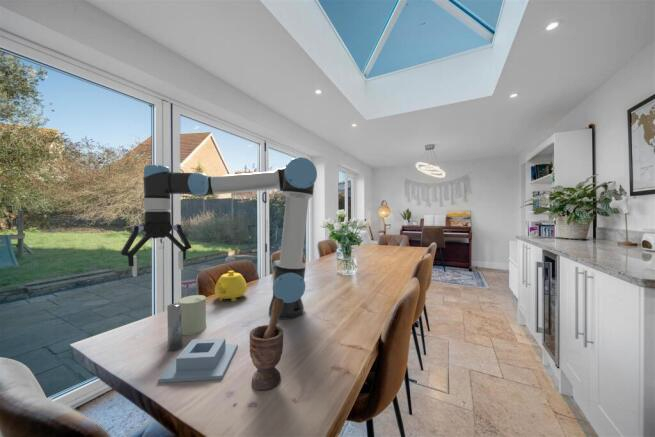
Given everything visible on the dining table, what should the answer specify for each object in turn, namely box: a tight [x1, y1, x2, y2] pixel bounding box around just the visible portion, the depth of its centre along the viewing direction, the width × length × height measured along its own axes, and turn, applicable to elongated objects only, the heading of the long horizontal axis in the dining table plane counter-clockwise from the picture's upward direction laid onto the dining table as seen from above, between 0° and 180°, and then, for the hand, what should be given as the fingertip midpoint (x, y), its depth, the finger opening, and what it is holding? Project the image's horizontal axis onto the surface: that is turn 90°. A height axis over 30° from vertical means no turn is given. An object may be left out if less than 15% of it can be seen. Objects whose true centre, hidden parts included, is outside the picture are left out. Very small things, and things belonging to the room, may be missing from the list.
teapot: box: [214, 270, 248, 302], centre depth 127 cm, size 20×16×14 cm
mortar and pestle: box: [249, 298, 284, 391], centre depth 67 cm, size 12×9×20 cm
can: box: [178, 294, 207, 336], centre depth 94 cm, size 9×9×12 cm
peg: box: [166, 302, 183, 352], centre depth 81 cm, size 4×4×14 cm
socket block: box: [157, 337, 239, 384], centre depth 74 cm, size 16×16×4 cm
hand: (159, 272), depth 87 cm, fingers open, 13 cm apart
